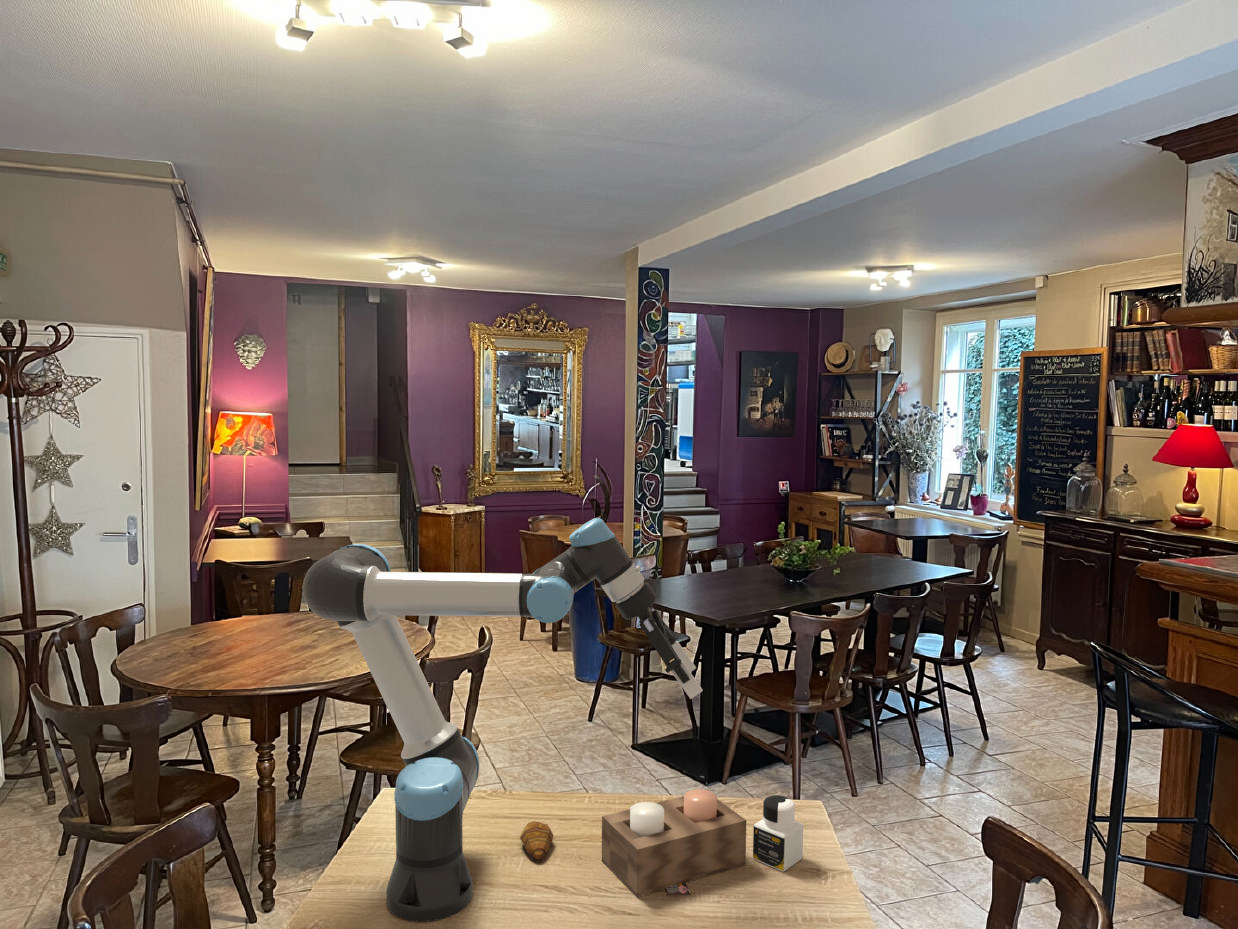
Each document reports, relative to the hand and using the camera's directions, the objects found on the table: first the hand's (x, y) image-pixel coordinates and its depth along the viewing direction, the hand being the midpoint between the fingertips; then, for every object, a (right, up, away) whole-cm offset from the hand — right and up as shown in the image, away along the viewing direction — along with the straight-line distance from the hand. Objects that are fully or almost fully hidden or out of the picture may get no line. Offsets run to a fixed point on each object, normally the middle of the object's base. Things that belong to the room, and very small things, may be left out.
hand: (693, 682), depth 167 cm
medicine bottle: (+17, -36, +4) cm, 40 cm away
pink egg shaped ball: (+2, -31, +5) cm, 32 cm away
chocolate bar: (-4, -37, -4) cm, 37 cm away
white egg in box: (-9, -32, -1) cm, 33 cm away
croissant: (-31, -35, +8) cm, 47 cm away
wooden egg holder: (-4, -35, +2) cm, 36 cm away
